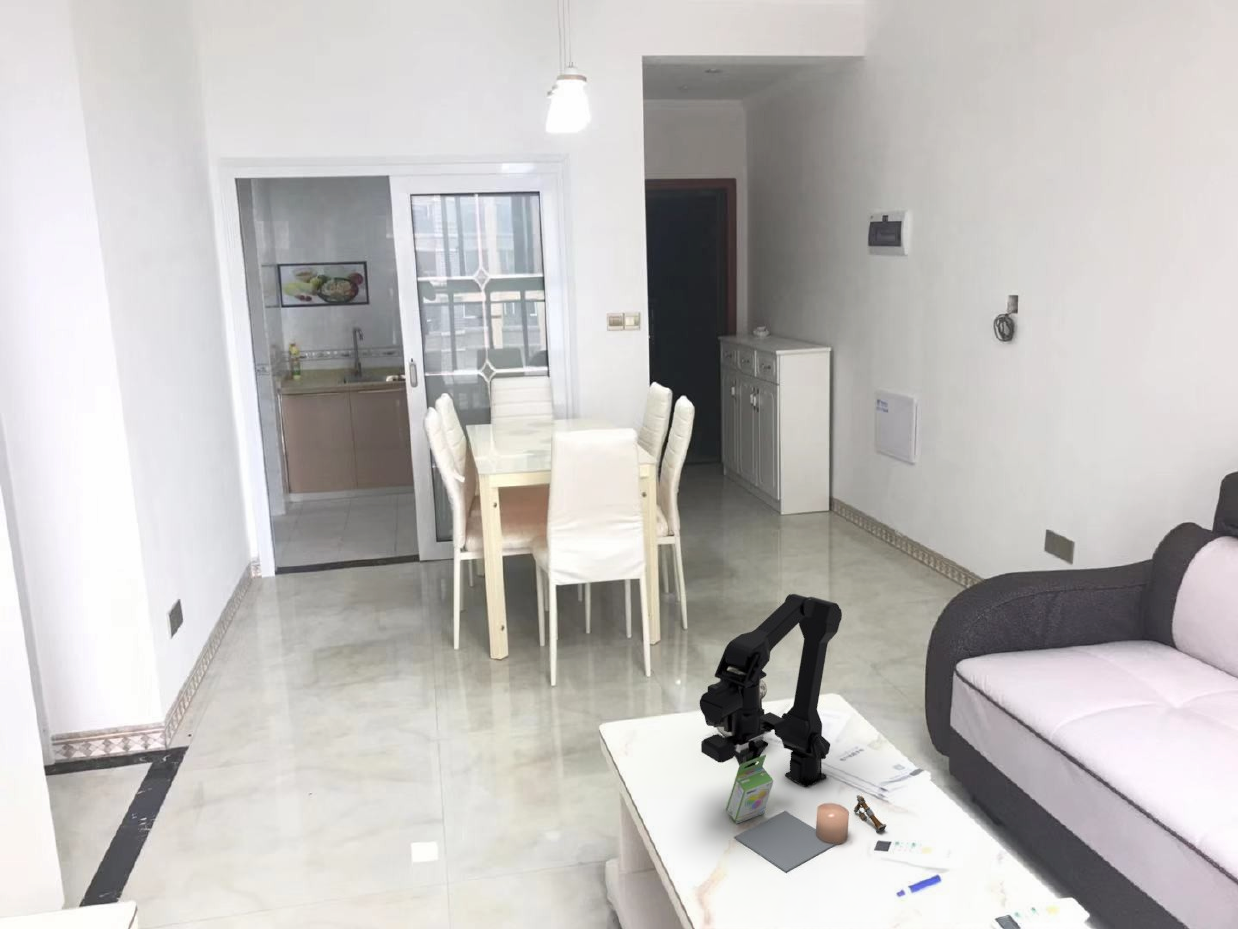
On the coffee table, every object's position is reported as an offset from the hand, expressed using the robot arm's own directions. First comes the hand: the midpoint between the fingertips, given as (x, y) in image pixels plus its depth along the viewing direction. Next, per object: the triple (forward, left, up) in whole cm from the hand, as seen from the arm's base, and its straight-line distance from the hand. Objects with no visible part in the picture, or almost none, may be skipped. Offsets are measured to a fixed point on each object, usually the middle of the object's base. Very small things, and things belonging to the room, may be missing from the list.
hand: (746, 775), depth 194 cm
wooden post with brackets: (-17, +17, -9) cm, 26 cm away
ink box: (0, -1, -8) cm, 9 cm away
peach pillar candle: (-8, +15, -9) cm, 19 cm away
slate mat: (0, +11, -9) cm, 14 cm away
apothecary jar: (-19, -22, -9) cm, 30 cm away
